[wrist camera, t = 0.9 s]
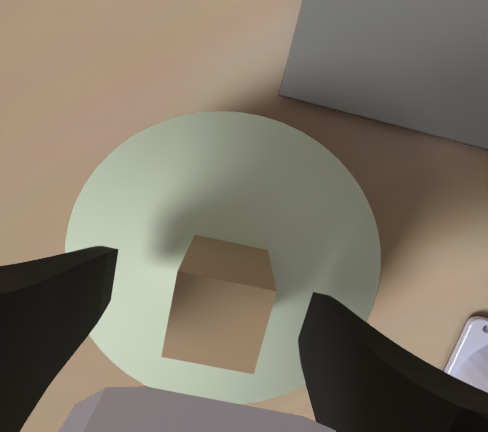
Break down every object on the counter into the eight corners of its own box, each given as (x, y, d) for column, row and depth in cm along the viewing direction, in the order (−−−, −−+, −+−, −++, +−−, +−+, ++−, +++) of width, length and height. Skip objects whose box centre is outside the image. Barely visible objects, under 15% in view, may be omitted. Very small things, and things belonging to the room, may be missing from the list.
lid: (416, 154, 13) (501, 164, 9) (324, 412, 16) (354, 511, 12) (91, 76, 12) (11, 45, 8) (62, 364, 15) (-7, 451, 11)
